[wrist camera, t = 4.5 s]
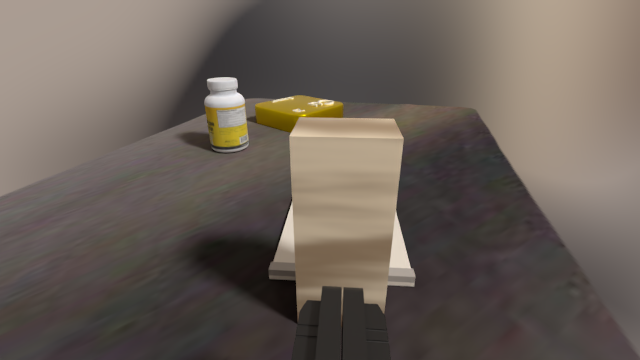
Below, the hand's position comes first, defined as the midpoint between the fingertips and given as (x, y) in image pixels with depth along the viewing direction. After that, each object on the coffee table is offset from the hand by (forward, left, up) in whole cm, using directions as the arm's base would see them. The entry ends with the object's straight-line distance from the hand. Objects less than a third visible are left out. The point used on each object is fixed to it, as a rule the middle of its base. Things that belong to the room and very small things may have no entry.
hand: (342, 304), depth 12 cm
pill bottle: (+34, +34, -10) cm, 49 cm away
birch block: (+9, +3, -10) cm, 14 cm away
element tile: (+55, +32, -11) cm, 64 cm away
